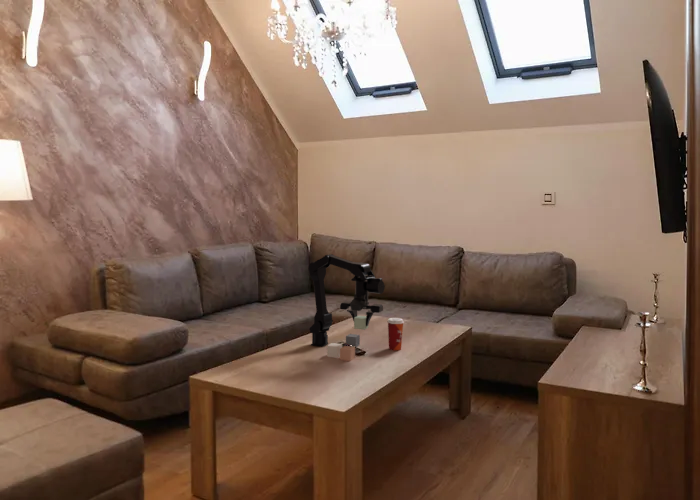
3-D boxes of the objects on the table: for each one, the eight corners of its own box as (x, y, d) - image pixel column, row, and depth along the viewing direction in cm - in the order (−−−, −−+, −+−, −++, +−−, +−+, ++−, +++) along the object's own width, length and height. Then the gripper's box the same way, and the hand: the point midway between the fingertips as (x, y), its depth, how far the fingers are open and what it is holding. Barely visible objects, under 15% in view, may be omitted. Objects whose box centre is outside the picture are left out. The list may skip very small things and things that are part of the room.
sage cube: (354, 328, 253) (354, 317, 253) (358, 326, 258) (358, 315, 257) (364, 329, 251) (364, 318, 251) (368, 327, 256) (368, 316, 255)
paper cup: (402, 351, 259) (403, 321, 257) (385, 350, 260) (386, 320, 259) (404, 347, 266) (404, 317, 265) (387, 346, 268) (388, 317, 266)
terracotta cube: (339, 359, 245) (340, 348, 244) (344, 356, 250) (344, 345, 249) (350, 361, 243) (350, 349, 243) (354, 358, 248) (355, 347, 247)
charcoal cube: (345, 346, 267) (345, 336, 266) (349, 344, 271) (349, 333, 271) (355, 347, 265) (355, 337, 264) (359, 345, 269) (359, 334, 269)
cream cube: (327, 356, 249) (327, 345, 249) (331, 353, 254) (331, 342, 254) (337, 358, 248) (337, 346, 247) (342, 355, 252) (342, 344, 252)
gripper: (335, 292, 249) (335, 327, 251) (375, 295, 242) (374, 331, 244) (345, 288, 259) (344, 322, 261) (383, 291, 252) (383, 326, 254)
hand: (361, 325), depth 254 cm, fingers closed on sage cube, 5 cm apart
